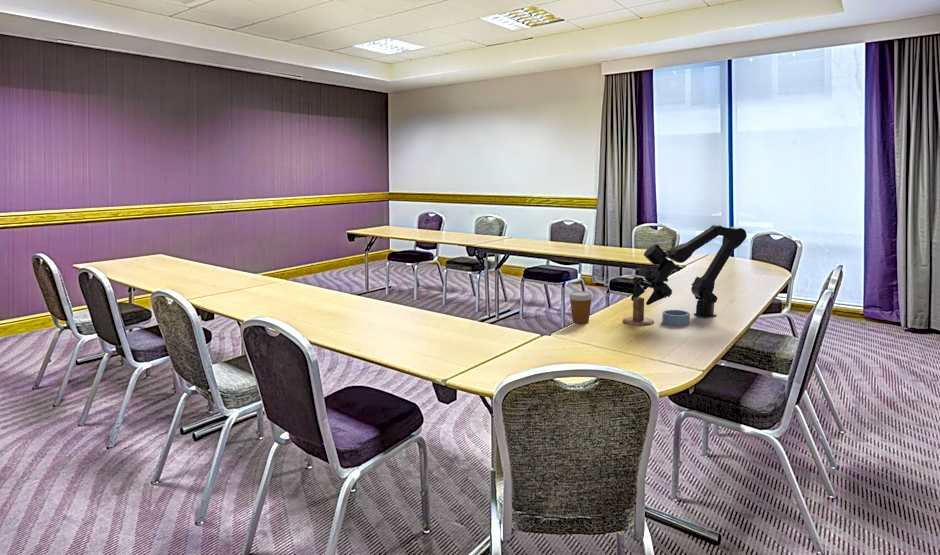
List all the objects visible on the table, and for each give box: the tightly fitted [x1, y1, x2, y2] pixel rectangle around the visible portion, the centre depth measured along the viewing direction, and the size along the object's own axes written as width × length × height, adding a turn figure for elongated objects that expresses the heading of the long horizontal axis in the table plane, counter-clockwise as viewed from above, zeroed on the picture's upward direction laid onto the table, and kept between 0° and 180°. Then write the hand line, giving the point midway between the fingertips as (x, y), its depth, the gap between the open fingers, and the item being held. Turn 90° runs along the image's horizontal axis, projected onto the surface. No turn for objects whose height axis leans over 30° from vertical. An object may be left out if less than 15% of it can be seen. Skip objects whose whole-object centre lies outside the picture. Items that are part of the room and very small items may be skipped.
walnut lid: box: [622, 296, 655, 327], centre depth 240 cm, size 12×12×10 cm
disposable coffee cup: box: [568, 290, 594, 325], centre depth 242 cm, size 10×10×12 cm
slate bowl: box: [661, 309, 691, 327], centre depth 237 cm, size 10×10×4 cm
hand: (639, 302), depth 239 cm, fingers open, 9 cm apart
